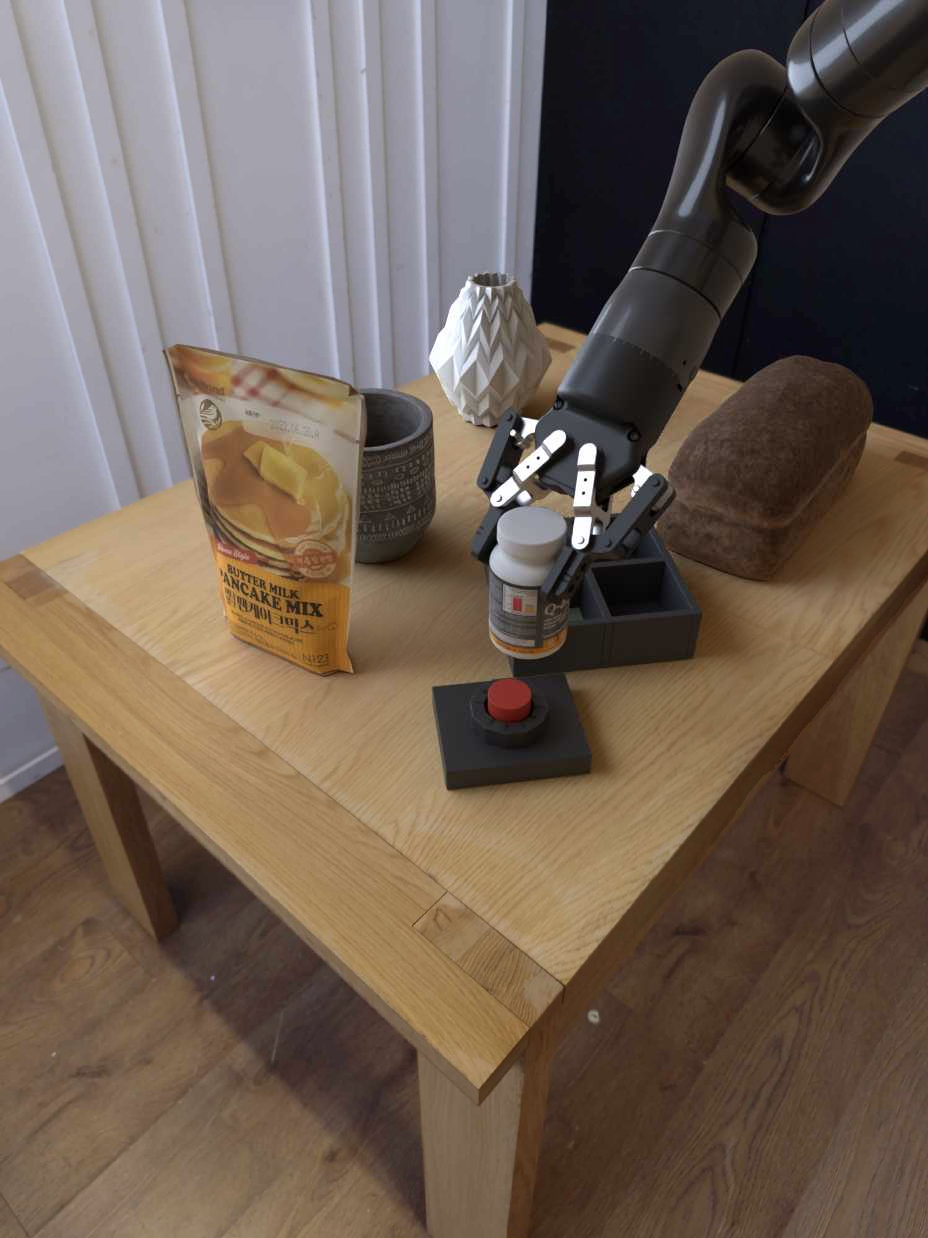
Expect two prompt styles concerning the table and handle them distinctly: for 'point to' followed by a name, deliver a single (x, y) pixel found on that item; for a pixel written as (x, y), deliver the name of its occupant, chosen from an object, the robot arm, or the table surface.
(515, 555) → the pill bottle
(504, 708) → the button
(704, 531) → the bread
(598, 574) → the black divided tray
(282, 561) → the pancake mix bag
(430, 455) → the planter
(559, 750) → the block
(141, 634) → the table surface
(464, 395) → the vase
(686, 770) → the table surface
